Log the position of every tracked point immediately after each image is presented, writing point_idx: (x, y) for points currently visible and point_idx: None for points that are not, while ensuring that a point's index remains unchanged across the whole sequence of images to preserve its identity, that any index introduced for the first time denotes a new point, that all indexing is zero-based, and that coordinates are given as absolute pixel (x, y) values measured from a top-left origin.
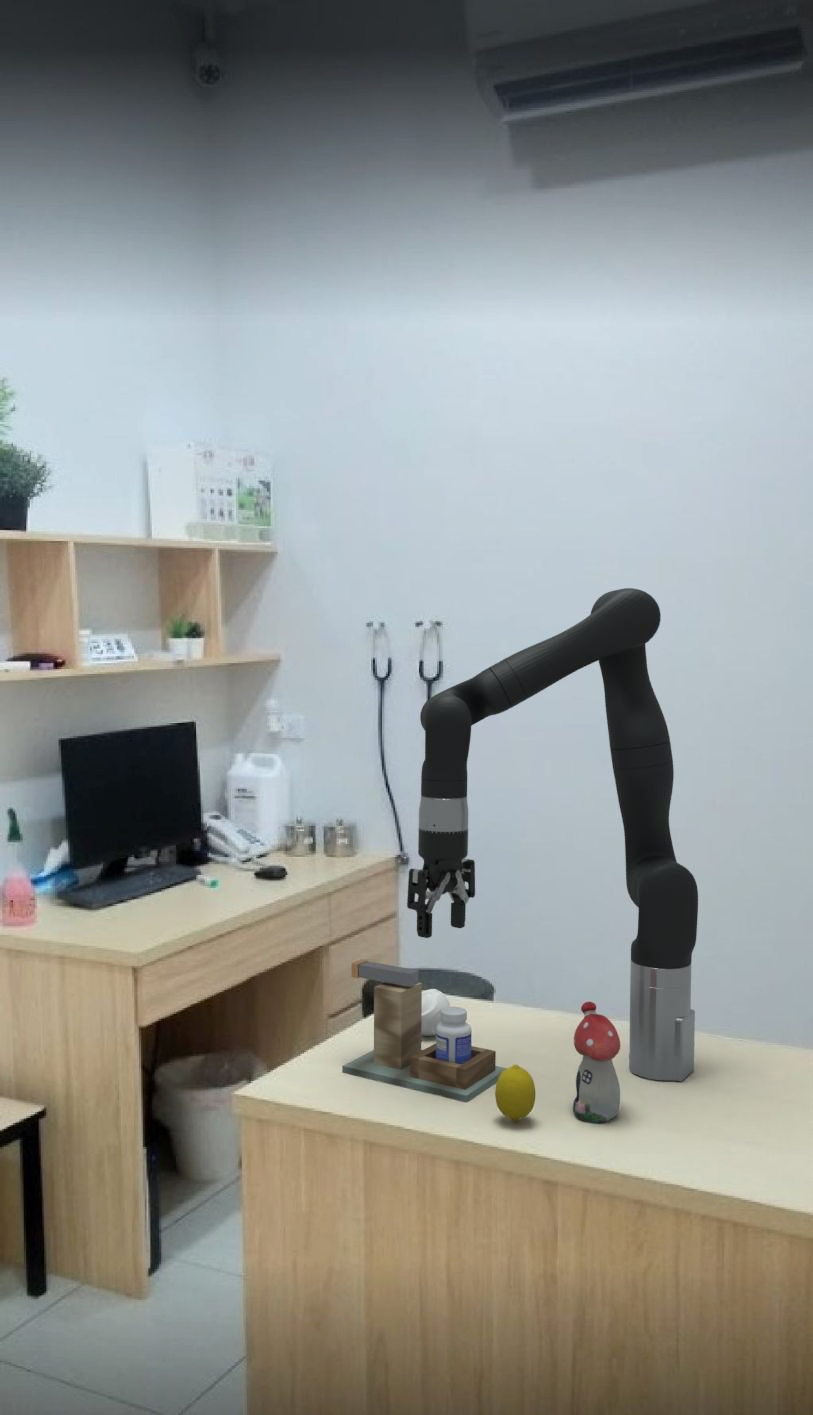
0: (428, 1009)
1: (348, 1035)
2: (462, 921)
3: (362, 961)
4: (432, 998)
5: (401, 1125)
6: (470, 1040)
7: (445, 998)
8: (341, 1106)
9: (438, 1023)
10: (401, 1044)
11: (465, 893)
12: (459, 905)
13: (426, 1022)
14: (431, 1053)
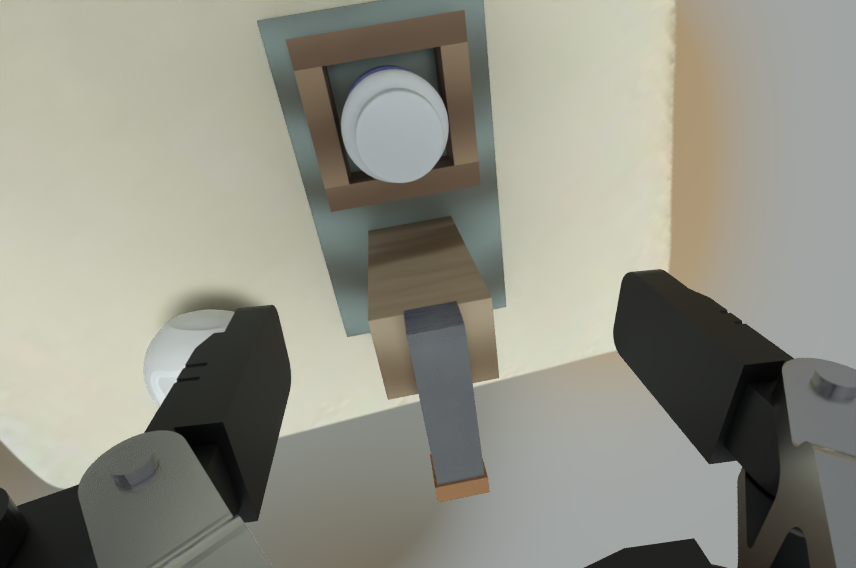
0: None
1: (351, 415)
2: (259, 325)
3: (454, 488)
4: None
5: (667, 21)
6: (374, 71)
7: (163, 355)
8: (639, 186)
9: (222, 314)
10: (458, 236)
11: (116, 539)
12: (237, 442)
13: None
14: None
